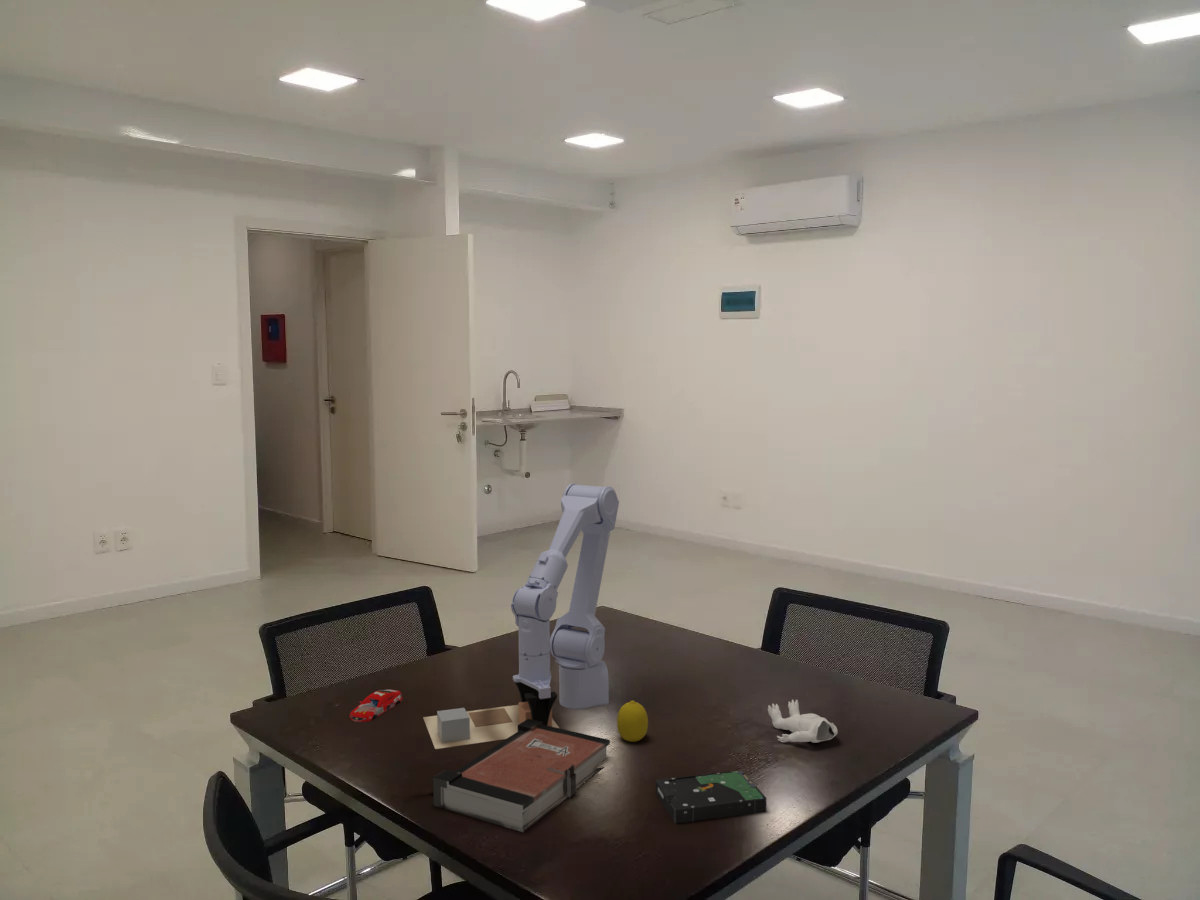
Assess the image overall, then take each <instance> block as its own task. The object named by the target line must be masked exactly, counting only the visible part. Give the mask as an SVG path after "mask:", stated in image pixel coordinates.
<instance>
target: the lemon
mask: <svg viewBox="0 0 1200 900" xmlns="http://www.w3.org/2000/svg"><path fill="white" fill-rule="evenodd" d="M648 718H649V717H648V714H647V711H646V709H645V707H644V706H643V705H642V704H640V703H639V702H636V701H635V700H633V699H632V700H630V701H629V702H626V703H624V705H622V706H621V707H620V709H619V711H618V713H617V718H616V727H617V731H618V734H619V735H620V737H621V738H622V739H623V740H625V741H627V742H629V743H635V742H639V741H640V740H642V739H643V738H644V737H645V735H646V734H647V732H648V726H649V719H648Z"/></svg>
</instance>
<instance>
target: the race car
mask: <svg viewBox="0 0 1200 900" xmlns="http://www.w3.org/2000/svg"><path fill="white" fill-rule="evenodd" d="M402 702H403V694H402V693H401V691H400V690H395V689H379V690H377V691H373V692H371V693H370V694H369V695H368V696H366V697H365V698H364V699H363V700H359V703H360V704H358V705H357V706H356V707H354V708H353V710H351V712H350V713H349V719H350V720H351V721H353V722H356V723H364V722H365V723H366V722H371V721H373V720H374V719H376V718H378V717H380V716H381V715H383V714H384V713H385V712H387V711H389V710H390V709H392V708H394V707H395V706H397V705H398V704H400V703H402Z"/></svg>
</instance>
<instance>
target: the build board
mask: <svg viewBox="0 0 1200 900" xmlns="http://www.w3.org/2000/svg"><path fill="white" fill-rule="evenodd" d="M466 712H467V714H468V716H469V718H470V739H468V740H461V741H454V742H447V743H442V742H441V739H440V737H439V735H438V728H437V715H430V716H423V717H422V718H423V721H424V723H425V726H426V729H427V731H428V734H429V736H430V739H431V742H432V744H433V747H434V749H435V750H441V749H445V748H454V747H461V746H467V745H474V744H479V743H481V744H482V743H487V742H488V743H489V742H495V741H501V740H503V741H504V740H505V739H507V738H509V737H510V736H512V735H513V734H515V733H517V732H518V725H519V704H515V705H507V706H498V707H491V708H490V707H489V708H484V709H475V710H466ZM552 727H555V728H560V727H559V726H558V724H557V723H556V721H555V720H554V718H552Z"/></svg>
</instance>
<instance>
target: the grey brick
mask: <svg viewBox="0 0 1200 900" xmlns="http://www.w3.org/2000/svg"><path fill="white" fill-rule="evenodd" d="M436 712H437V713H436V716H437V728H438V735H439V737H440V739H441V742H442V743H447V742H454V741H461V740H468V739H470V718H469V716H468V714H467V710H466V708H465V707H460V708H452V709H444V710H437V711H436Z"/></svg>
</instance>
